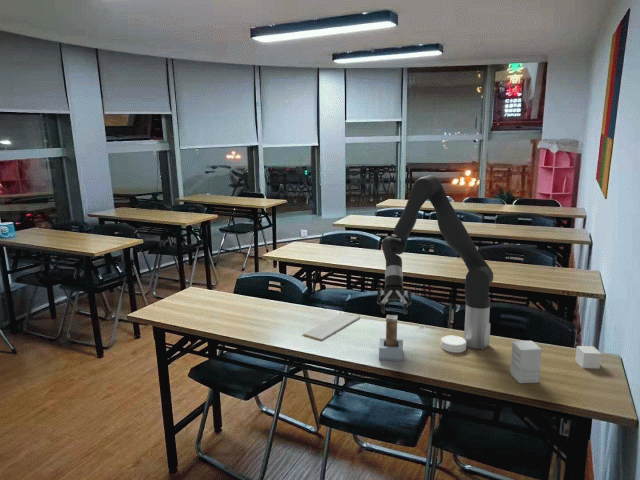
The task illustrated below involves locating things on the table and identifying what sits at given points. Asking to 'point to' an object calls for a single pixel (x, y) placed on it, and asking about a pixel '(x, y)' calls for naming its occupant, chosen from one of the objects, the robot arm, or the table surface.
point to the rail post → (391, 330)
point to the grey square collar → (391, 351)
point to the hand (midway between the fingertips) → (394, 313)
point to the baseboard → (331, 326)
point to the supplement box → (525, 361)
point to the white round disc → (453, 344)
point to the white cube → (588, 357)
